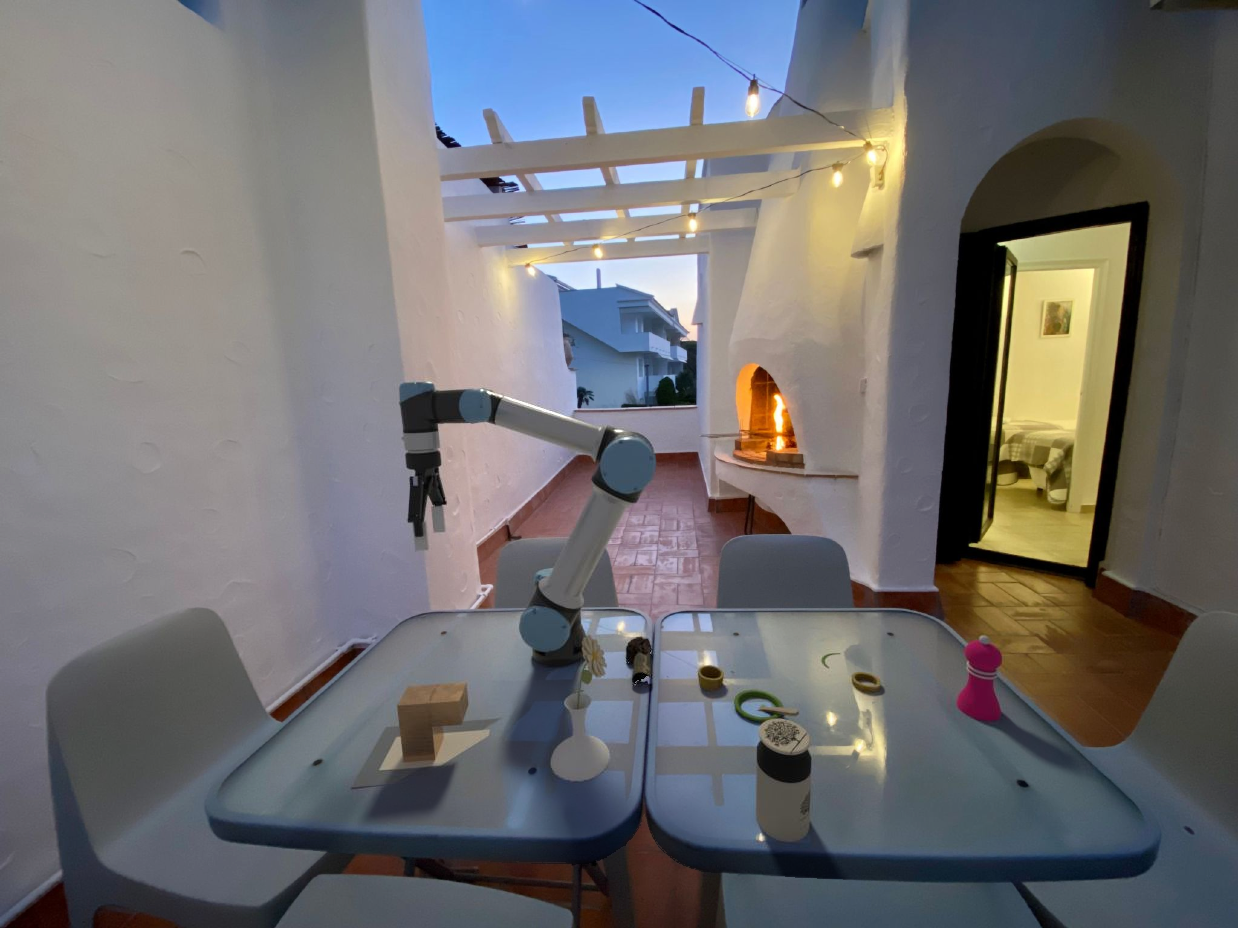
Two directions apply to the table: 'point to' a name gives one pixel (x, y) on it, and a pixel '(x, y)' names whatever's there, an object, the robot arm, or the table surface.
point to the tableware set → (714, 677)
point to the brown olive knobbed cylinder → (639, 658)
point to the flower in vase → (582, 726)
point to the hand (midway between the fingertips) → (431, 540)
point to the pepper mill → (981, 681)
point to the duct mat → (390, 768)
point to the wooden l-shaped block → (429, 717)
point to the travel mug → (783, 780)
